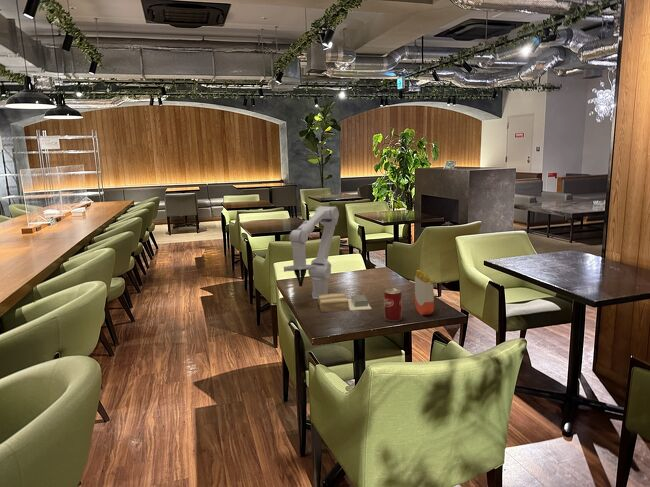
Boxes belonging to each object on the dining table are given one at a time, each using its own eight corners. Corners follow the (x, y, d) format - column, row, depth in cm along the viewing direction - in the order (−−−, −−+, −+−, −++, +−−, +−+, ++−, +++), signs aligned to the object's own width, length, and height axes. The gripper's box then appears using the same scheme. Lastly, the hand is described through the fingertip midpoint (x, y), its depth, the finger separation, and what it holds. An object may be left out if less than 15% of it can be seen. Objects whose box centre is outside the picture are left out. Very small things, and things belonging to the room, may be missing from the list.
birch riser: (318, 302, 227) (318, 294, 226) (343, 300, 228) (343, 292, 227) (321, 312, 213) (321, 303, 212) (348, 310, 214) (348, 301, 213)
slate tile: (363, 294, 226) (364, 300, 226) (351, 295, 225) (351, 300, 226) (367, 300, 217) (368, 306, 218) (354, 301, 217) (354, 307, 217)
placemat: (344, 300, 229) (344, 299, 229) (364, 298, 230) (364, 297, 230) (350, 310, 213) (350, 310, 213) (371, 309, 214) (371, 308, 214)
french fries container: (424, 308, 213) (424, 268, 210) (434, 316, 203) (435, 274, 200) (414, 309, 213) (414, 269, 209) (424, 317, 202) (424, 275, 199)
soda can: (388, 323, 197) (388, 294, 195) (381, 317, 204) (381, 289, 201) (404, 320, 199) (404, 292, 197) (397, 315, 206) (397, 287, 203)
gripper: (283, 259, 214) (285, 289, 216) (316, 257, 215) (317, 287, 218) (283, 256, 221) (284, 285, 223) (314, 254, 222) (315, 283, 225)
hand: (300, 285), depth 221 cm, fingers closed
